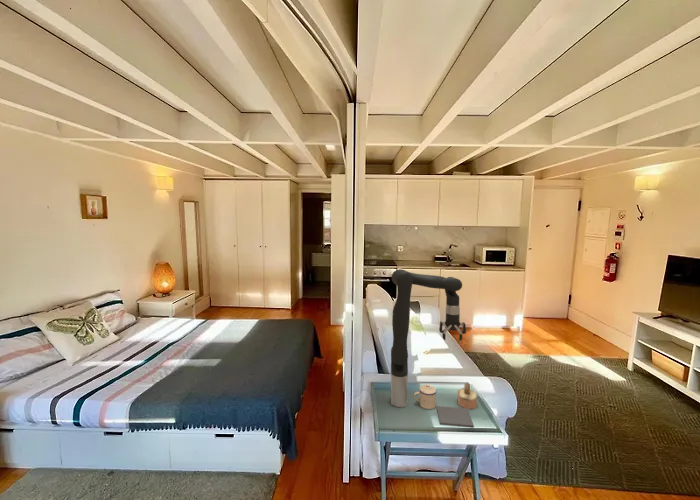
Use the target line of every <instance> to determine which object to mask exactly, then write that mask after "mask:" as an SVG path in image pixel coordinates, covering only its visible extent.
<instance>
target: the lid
mask: <svg viewBox="0 0 700 500" xmlns="http://www.w3.org/2000/svg"><path fill="white" fill-rule="evenodd" d="M463 387H464V388H460V389H458V390H457V397H458V396H459V397H460V398H462V399H464V400H469V401H472V400H475V399H476V398H477V399H478V394H477V392H476V391H475V390H473V389H471V384H470V383H469V382H465V383H464V386H463Z"/></svg>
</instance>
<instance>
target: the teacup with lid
mask: <svg viewBox="0 0 700 500" xmlns="http://www.w3.org/2000/svg"><path fill="white" fill-rule="evenodd" d="M418 394H419V398H417V397H416V395H418ZM413 397H414V399H415V400H416V401H417V402H419V405H420V407H422V409H425V410H433V409H435V408H437V402H436V401H437V389H436V388H435V386H432V385H430V384H429V383H426V384H423V385H421V386H419V391H415V392H414V394H413Z"/></svg>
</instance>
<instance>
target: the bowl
mask: <svg viewBox="0 0 700 500" xmlns="http://www.w3.org/2000/svg"><path fill="white" fill-rule="evenodd" d="M477 401H478V397H477V398H476V399H475V400H472V401H469V400H464V399H462V398H460V397H459V396H458V395H457V404H458V406H459V407H460V408H468V410H474V409H475V408H477V407H478V405H477V404H478V402H477Z"/></svg>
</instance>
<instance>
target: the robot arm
mask: <svg viewBox="0 0 700 500" xmlns="http://www.w3.org/2000/svg"><path fill="white" fill-rule="evenodd" d="M391 281H392V282H393V284H394V285H396V286H397V295H396V296H397V297H396V300H395V303H394V305H393V309H392V322H391V323H392V335H393V336H392V337H393V338H392V340H393V342H392V346H391V349H390V378H391V379H390V384H391V385H390V406H393V407H396V408H404V407H407V406H408V403H409V383H408V382H409V379H408V378H409V366H408V365H409V363H408V361H409V360H408V359H409V353H408V336H409V329H410V317H411V315H410V313H411V311H410V310H411V293H412V288H413V285H415V286H421V287H425V288H430V289H431V288H432V289H438V290H444V293H445V297H446V299H445V300H446V302H445V303H446V304H445V321H442V320H441V321H439V331H438V332H439V333H442V340H444V341H445V340H446V335H447V334H446V333H447V332H448V331H457V332H458V334H459V335H458V340H459V341H462V340H463V335H464V334H465V335H466V334H467V330H466V329H467V328H466V327H467V326H466V323H465V322H464V321H463V322H460V315H461V314H460V312H461V311H460V309H461V308H460V295H459V294H458V293H457V291H460V290H462V288H463V282H462V280H460V279H459V278H457V277H454V276H448V277H444V276H441V275H431V274H421V273H414V272H410V271H407V270H404V269H403V268H402V269H401V268H400V269H396V270H395V271H393V272H392V274H391ZM444 326H445V327H444ZM460 326H461V327H462V330H461V329H460ZM443 327H444V328H443Z"/></svg>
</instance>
